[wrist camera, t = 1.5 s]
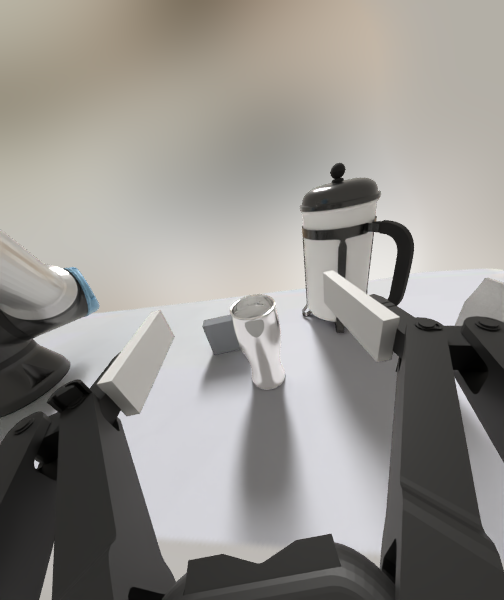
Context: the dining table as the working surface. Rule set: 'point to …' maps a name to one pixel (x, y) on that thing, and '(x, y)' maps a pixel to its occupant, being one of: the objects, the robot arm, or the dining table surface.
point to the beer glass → (259, 338)
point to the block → (221, 334)
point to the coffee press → (347, 239)
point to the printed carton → (484, 302)
